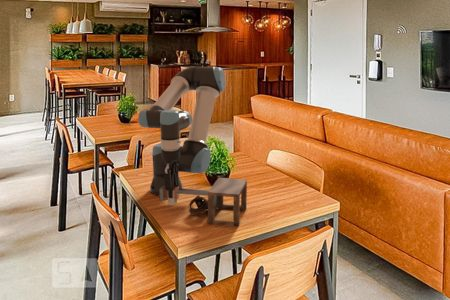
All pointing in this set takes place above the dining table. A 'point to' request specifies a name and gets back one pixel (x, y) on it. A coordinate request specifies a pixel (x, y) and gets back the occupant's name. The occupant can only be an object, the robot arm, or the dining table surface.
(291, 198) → the dining table surface
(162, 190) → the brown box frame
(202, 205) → the pottery mug
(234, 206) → the walnut stool
